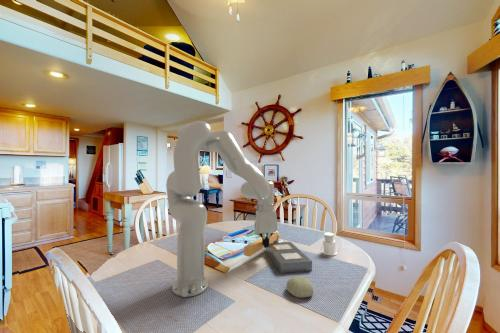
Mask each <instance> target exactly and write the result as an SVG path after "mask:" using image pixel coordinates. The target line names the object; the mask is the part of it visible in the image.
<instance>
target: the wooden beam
mask: <svg viewBox="0 0 500 333" xmlns="http://www.w3.org/2000/svg"><path fill="white" fill-rule="evenodd" d="M265 237H266V235H265ZM277 239H278V240H279V239H280V231H279V230H277V233H276V234H273V235H272V236H271V237H270V239H269V244H271V243H273V242H274V241H275V240H277ZM264 249H265V247H264V246H263V245H262V237H260V238H259V239H257V240H255V241H253V242H252V243H250V244H247V245H245V246H244V247H243V255H244V256H246V257H252V256H253V255H255V254H257V253H258V252H260V251H261V250H264Z"/></svg>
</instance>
